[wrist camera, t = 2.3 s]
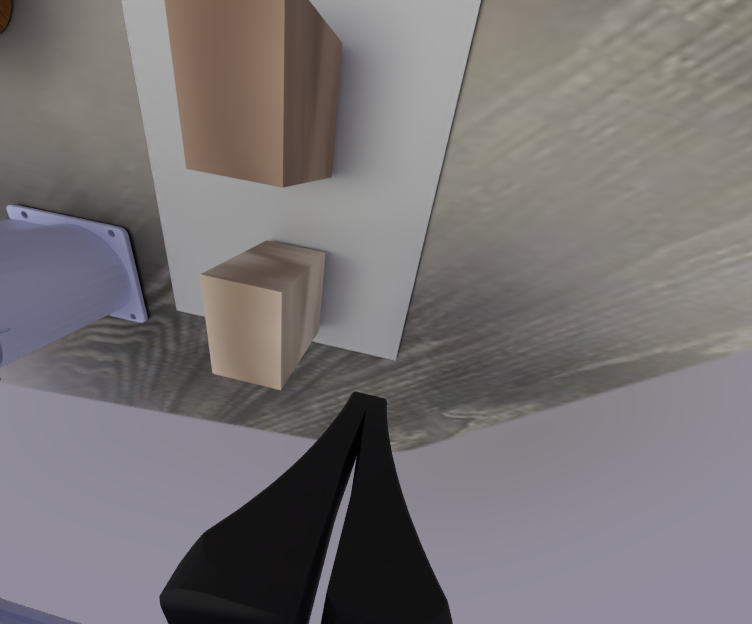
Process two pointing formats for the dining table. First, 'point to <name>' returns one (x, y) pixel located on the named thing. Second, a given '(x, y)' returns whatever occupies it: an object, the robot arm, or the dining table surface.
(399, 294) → the grey mat
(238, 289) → the beech block
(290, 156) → the walnut block
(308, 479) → the robot arm
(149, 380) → the dining table surface
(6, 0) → the disposable coffee cup
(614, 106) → the dining table surface
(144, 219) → the dining table surface
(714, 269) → the dining table surface
